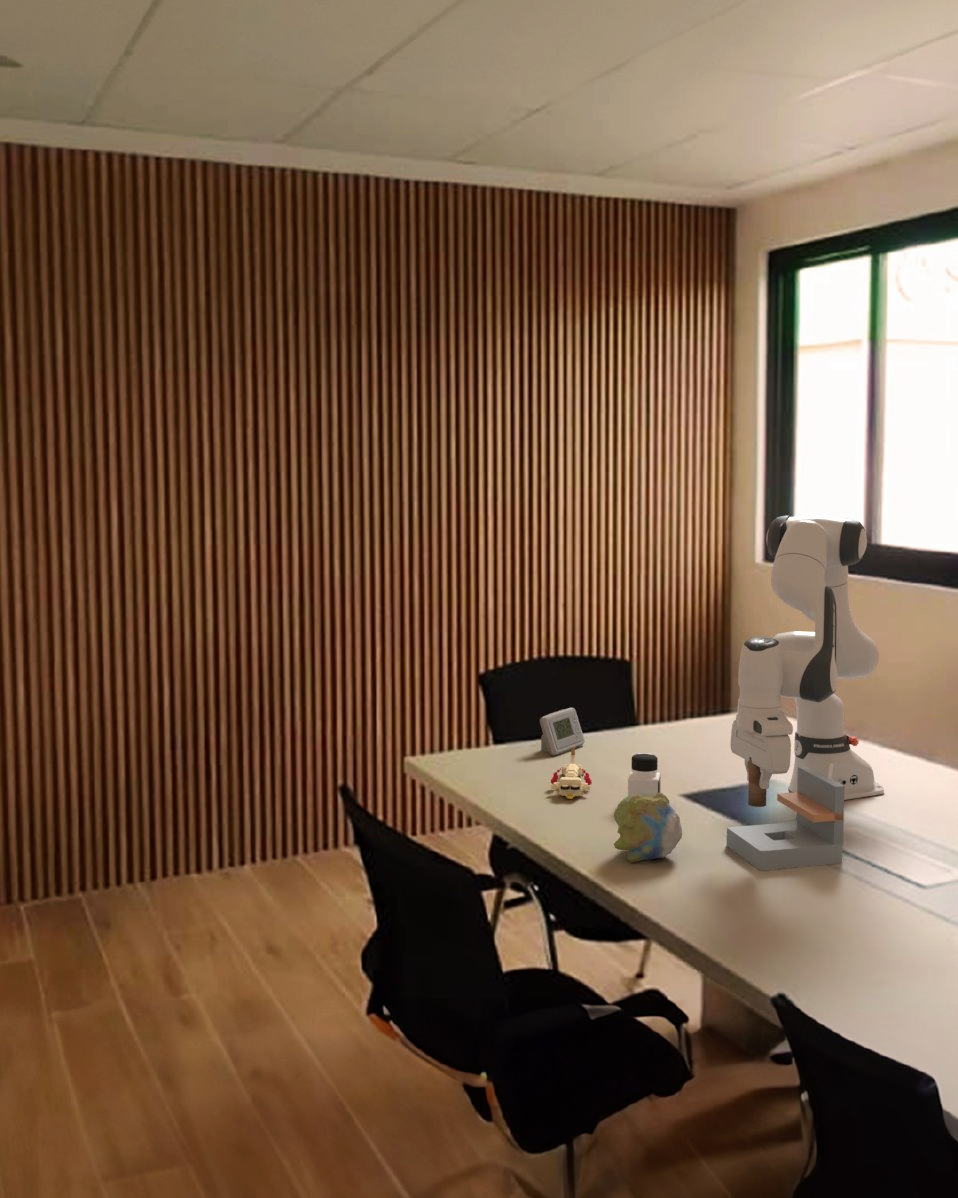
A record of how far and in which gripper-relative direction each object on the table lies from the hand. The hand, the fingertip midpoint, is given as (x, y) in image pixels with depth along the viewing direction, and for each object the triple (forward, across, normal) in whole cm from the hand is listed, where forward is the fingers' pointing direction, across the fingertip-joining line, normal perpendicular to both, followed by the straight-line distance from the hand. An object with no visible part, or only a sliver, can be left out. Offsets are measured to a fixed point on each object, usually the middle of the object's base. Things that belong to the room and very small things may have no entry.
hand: (758, 785), depth 261 cm
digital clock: (+15, -96, -12) cm, 98 cm away
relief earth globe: (+16, -6, -23) cm, 28 cm away
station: (+15, 0, +5) cm, 16 cm away
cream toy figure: (+15, -60, -21) cm, 65 cm away
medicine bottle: (+15, -41, -9) cm, 45 cm away
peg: (+4, 0, 0) cm, 4 cm away
